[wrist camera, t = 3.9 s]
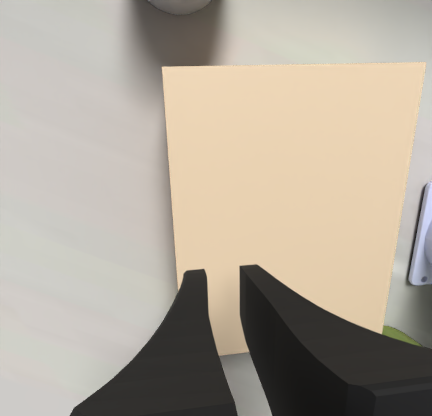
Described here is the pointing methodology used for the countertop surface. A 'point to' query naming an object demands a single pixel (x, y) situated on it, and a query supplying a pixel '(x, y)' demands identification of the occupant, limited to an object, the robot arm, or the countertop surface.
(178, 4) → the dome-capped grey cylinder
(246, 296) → the robot arm
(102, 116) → the countertop surface
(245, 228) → the box lid
